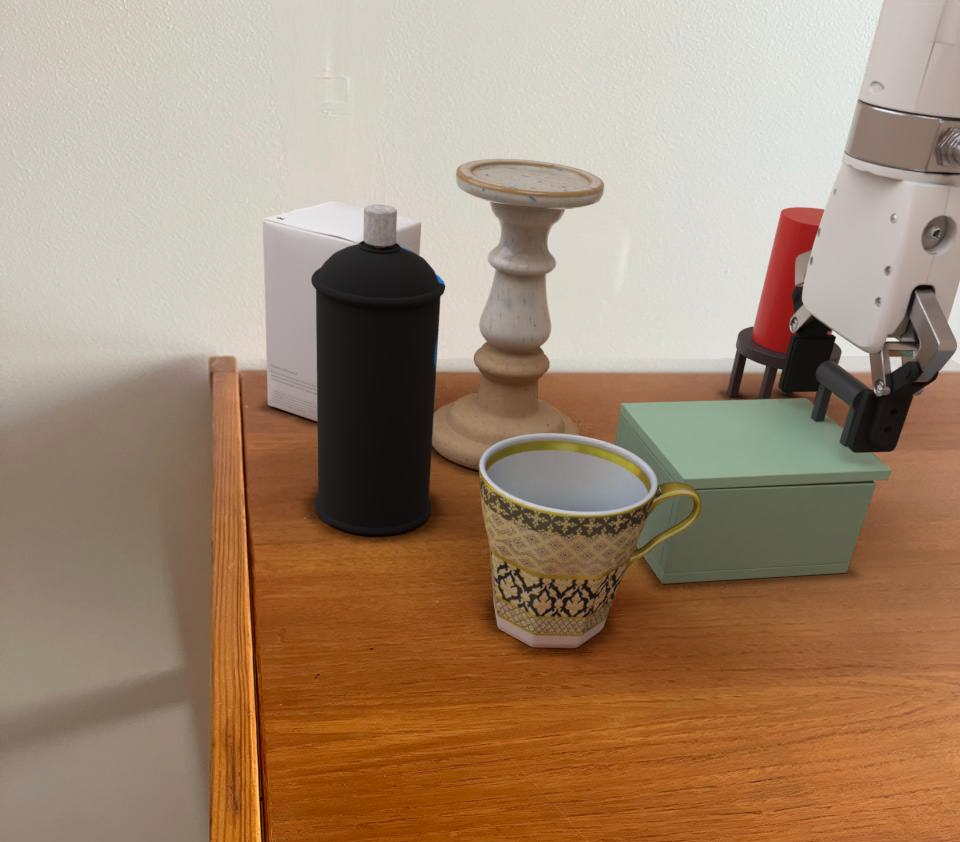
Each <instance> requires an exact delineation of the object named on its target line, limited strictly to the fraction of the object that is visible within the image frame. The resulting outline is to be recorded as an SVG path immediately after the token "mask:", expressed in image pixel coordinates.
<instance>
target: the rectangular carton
mask: <svg viewBox="0 0 960 842" xmlns="http://www.w3.org/2000/svg"><path fill="white" fill-rule="evenodd" d="M364 208H365V207H362V206H358V205H355V204H349V203H345V202H341V201H336V200H331V201H326V202H323V203H319V204H316V205H312V206H307V207H301V208H297V209H293V210H291V211H287V212H284V213H280V214H276V215H272V216H268V217H265V218H263V219H262V243H263V245H262V247H263V278H264V305H265V306H264V311H265V313H264V314H265V315H264V316H265V348H266V349H265V350H266V353H265V354H266V382H267V385H266V386H267V388H266V389H267V406H270V407H273V408H276V409H278V410H282V411H285V412H287V413H291V414H293V415H297V416H299V417H303V418H306V419H309V420H311V421H314V422H317V339H316V289H315V288H314V286H313V285H312V282H311V278H312V275H313V274H314V272H315V271H316V270H318V269H319V268H321V267H322V265H323V264H324V262H325V261H327V260H328V259H329V258H330V257H331V256H332V255H333V254H334V253H335V252H337V251H339V250H342V249H344V248H346V247H349V246H352V245H357V244H359V243H360V242H362V241H364ZM421 235H422V221H420V220H415V219H414V218H413V219H412V218H409V217H406V216H401V215H397V226H396V243H397V244H399V245H400V246H401V247H403V248H406V249H408V250H411V251H412V252H414V253H416V254H417V255H419V256H421V254H420V253H421V252H420V251H421Z"/></svg>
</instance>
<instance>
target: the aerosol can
mask: <svg viewBox="0 0 960 842" xmlns="http://www.w3.org/2000/svg"><path fill="white" fill-rule="evenodd" d="M363 208H364V241H362V242H360V243H359V244H357V245H352V246H349V247H346V248H344V249H342V250H339V251H337V252H335V253H334V254H333V255H332V256H331V257H330V258H329V259H328V260H327V261H325V262H324V264H323V265H322V267H321V268H319V269H318V270H316V271H315V272H314V274H313V275H312V278H311V282H312V285H313V286H314V288H315V289H316V339H317V421H316V422H317V427H316V428H317V490H318V491H317V494H316V496H315V498H314V501H313V502H314V509H315V512H316V514H317V515H318V517H320V519H321V520H323V521H324V522H325V523H327V524H328V525H329V526H331V527H334V528H336V529H338V530H341V531H344V532H346V533H351V534H355V535H360V536H373V537H374V536H375V537H377V536H379V537H380V536H391V535H398V534H402V533H406V532H409V531H412V530H414V529H416V528H418V527H419V526H421V525H423V523H425V522H426V521H427V520H428V519H429V517H431V514H432V510H433V505H432V500H431V499H430V485H431V469H432V468H431V467H432V466H431V465H432V453H433V452H432V451H433V446H432V435H433V418H434V412H435V399H436V384H437V383H436V381H437V364H438V349H439V348H438V346H439V331H440V330H439V329H440V315H441V314H440V313H441V297H442V296H443V295H444V294H445V290H446V283H445V281H444V280H443V279H442V278H441V276H439V274H437V273H436V271H435V269H433V267H432V266H431V265H430V264H429V262H428V261H427V260H426V259H425V258H424V257H422V256H421V255H417V254H416V253H414V252H412V251H411V250H408V249H406V248H403V247H401V246H400V245H399V244H397V243H396V226H397V216H398V210H397V208H396V207H394V206H391V205H386V204H368V205H366V206H364V207H363Z"/></svg>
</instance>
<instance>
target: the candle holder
mask: <svg viewBox="0 0 960 842" xmlns="http://www.w3.org/2000/svg"><path fill="white" fill-rule="evenodd" d="M454 178H455V182H456V186H457V187H458V189H460V190H461V191H463V192H465V193H467V194H468V195H470V196H472V197H474V198H477V199H480V200H482V201H487V202H489V206H490V210H491V211H492V214H493V216H495V218H497V219H498V222H499V226H500V238H499V241H498V243H497V245H496V246H495V247H493V248H492V249H491V250H490V251H489V252H488V254H487V262H488V264H489V265H490V266H491V267H492V268H493V269H494V274H493V279H492V282H491V286H490V291H489V292H488V297H487V299H486V302H485V304H484V306H483V309H482V311H481V314H480V317H479V321H478V328H479V332H480V334H481V337H482V338H483V339H484V340H485V341H486V342H484V343H483V344H482V345H481V347H479V348H478V349H477V350H476V351H475V352H474V354H473V363H474V365H475V366H476V367H477V369H478V371H479V373H480V374H481V377H480V382H479V387H478V390H477V392H472V393H469V394H466V395H463V396H460V397H459V398H458V399H456V400H454V401H451V402H448V403H446V404H445V405H442V406H440V408H438V409H437V410H436V411H434V418H433V435H432V448H433V449H434V451H436V452H437V453H438V454H439V455H441V456H442V457H444V459H447V460H448V461H451V462H452V463H455V464H457V465H460V466H463V467H466V468H468V469H471V470H475V471H479V461H480V458H481V456H482V455H483V453H484V452H485V451H486V450H487V449H488V448H489V447H491V446H492V445H494V444H496V443H498V442H500V441H503V440H505V439H508V438H512V437H516V436H521V435H526V434H536V433H561V434H572V435H578V436H581V434H580V431H579V427H578V426H577V425H576V423H574V421H573V420H572V419H570V417H568V416H567V415H565V414H564V413H562V412H560V411H559V410H558V409H557V408H555V406H554V405H552V404H550V402H547V401H545V400H544V399H541V398H539V380H540V379H541V378H542V377H543V376H544V375H545V374H546V373H547V372H548V371H549V369H550V365H551V364H550V363H551V362H550V359H549V357H548V356H547V354H545V351H544V350H543V348H542V346H543V345H544V344H545V343H546V342H548V340H549V338H550V336H551V334H552V319H551V315H550V309H549V304H548V303H549V302H548V295H547V293H548V292H547V275H548V274H550V273H552V272H553V271H554V270H555V269H556V267H557V260H556V258H555V256H554V255H553V254H552V253H551V250H550V249H549V243H548V241H549V235H550V233H551V230H552V228H553V226H554V225H555V224H557V223H559V221H561V219H562V218H563V216H564V214H565V211H566V210H573V209H579V208H584V207H588V206H591V205H595V204H597V203H598V202H600V201H601V200H602V198H603V196H604V194H605V182H604V180H602V178H600V177H599V176H597V175H595V174H593V173H592V172H589V171H586V170H583V169H580V168H577V167H572V166H569V165H566V164H565V165H564V164H559V163H555V162H554V163H553V162H547V161H541V160H531V159H519V158H517V159H516V158H487V159H486V158H485V159H477V160H471V161H468V162H465V163H462V164H460V165H459V166H458V167H457V168H456V170H455V175H454Z"/></svg>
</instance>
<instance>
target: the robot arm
mask: <svg viewBox="0 0 960 842" xmlns="http://www.w3.org/2000/svg"><path fill="white" fill-rule="evenodd" d="M880 8H881V9H880V12H879V17H878V20H877V24H876V27H875V31H874V35H873V40H872V43H871V46H870V51H869V54H868V58H867V62H866V66H865V70H864V74H863V78H862V81H861V85H860V89H859V93H858V97H857V98H858V99H857V101H856V106H855V109H854V113H853V116H852V120H851V123H850V128H849V131H848V136H847V139H846V143H845V147H844V151H843V154H842V157H841V165H840V168H839V170H838V172H837V174H836V177H835V180H834V182H833V185H832V188H831V190H830V192H829V195H828V198H827V202H826V204H825V207H824V209H825V210H824V213H823V216H822V219H821V222H820V225H819V228H818V232H817V235H816V238H815V241H814V244H813V248H812V250H810V251H808V252H805V253H803V254H800V255H798V256H797V258H796V262H795V286H796V287H795V288H794V290H793V293H792V301H793V307H794V313H795V314H794V315H793V316H792V317H791V320H790V331H791V332H792V333H796V335H791V338H790V341H789V345H788V349H787V353H786V357H785V361H784V365H783V368H782V370H781V373H780V377H779V381H778V385H777V387H778V389H779V390H780V391H781V392H782V391H783V392H793V393H817V391H818V389H819V385H820V382H818V381H817V379H816V370H817V368H818V367H819V366H820V365H821V364H822V363H823V362H825V361H830V357H831V354H832V350H833V347H834V343H836V339H837V336H835V335H834V334H833V333H832V334H827V333H830V332H831V331H832V330H833V331H832V332H834V333H836V334H837V335H839V336H840V337H842V339H844V340H846V341H848V342H849V343H850V344H851V345H853V346H854V347H856V348H858V349H859V350H861V351H862V352H865V353H867V354H868V355H869V364H870V365H869V366H870V373H871V381H872V389H871V390H865V391H864V394H863V396H862V400H861V403H860V406H859V409H858V413H857V416H856V419H855V422H854V425H853V429H852V432H851V435H850V438H849V442H848V448H849V449H850V450H851V451H852V452H854V453H868V452H871V453H891V452H893V451H894V450H895V449H896V448H897V446H898V443H899V440H900V437H901V434H902V431H903V429H904V425H905V422H906V420H907V416H908V413H909V411H910V407H911V404H912V402H913V399H914V397H918V396H921V394H922V393H923V392H924V390H925V388H926V387H927V386H928V385H929V386H930V384H932V383H934V382H935V381H936V380H937V379H938V376H939V373H940V371H942V370H943V368H944V367H945V365H946V364H947V363H948V362H949V361H950V359H951V358H952V357H953V356H954V354H955V353H956V351H957V348H958V342H957V339H956V336H955V335H954V333H953V331H952V329H951V326H950V324H949V323H948V322H949V319H950V316H951V314H952V313H951V312H952V309H953V306H954V304H955V299H956V296H957V293H958V290H959V285H960V0H883V1H882V5H881V7H880ZM887 338H888V339H895V340H897V341H894V340H893V341H892V340H891V341H890V340H888V339H887ZM891 358H900V359H901V366H899V367H898V368H896V369H895V370H893V371H892V367H891Z"/></svg>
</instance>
